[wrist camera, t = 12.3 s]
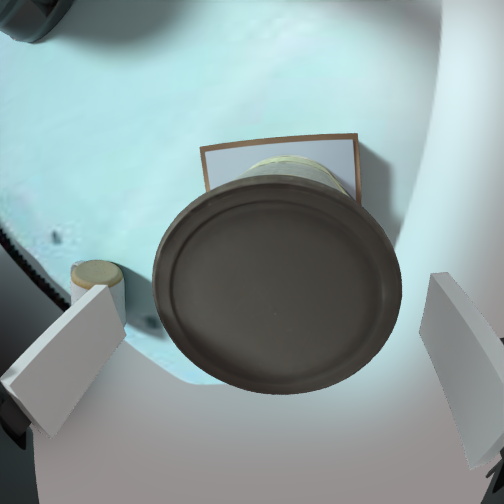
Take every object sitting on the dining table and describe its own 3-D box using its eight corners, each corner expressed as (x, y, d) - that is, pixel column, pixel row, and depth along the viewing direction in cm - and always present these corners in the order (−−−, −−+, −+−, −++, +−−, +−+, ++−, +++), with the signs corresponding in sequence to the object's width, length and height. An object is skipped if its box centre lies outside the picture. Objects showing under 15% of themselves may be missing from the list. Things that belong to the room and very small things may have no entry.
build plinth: (215, 144, 28) (198, 147, 23) (347, 133, 25) (358, 133, 21) (232, 263, 33) (220, 287, 28) (351, 258, 30) (360, 282, 25)
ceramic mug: (134, 265, 35) (100, 294, 28) (135, 316, 38) (107, 349, 31) (74, 245, 36) (38, 268, 29) (79, 294, 39) (48, 320, 32)
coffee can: (374, 205, 23) (449, 290, 10) (299, 292, 27) (291, 419, 14) (273, 127, 22) (236, 115, 9) (206, 226, 26) (120, 317, 13)
